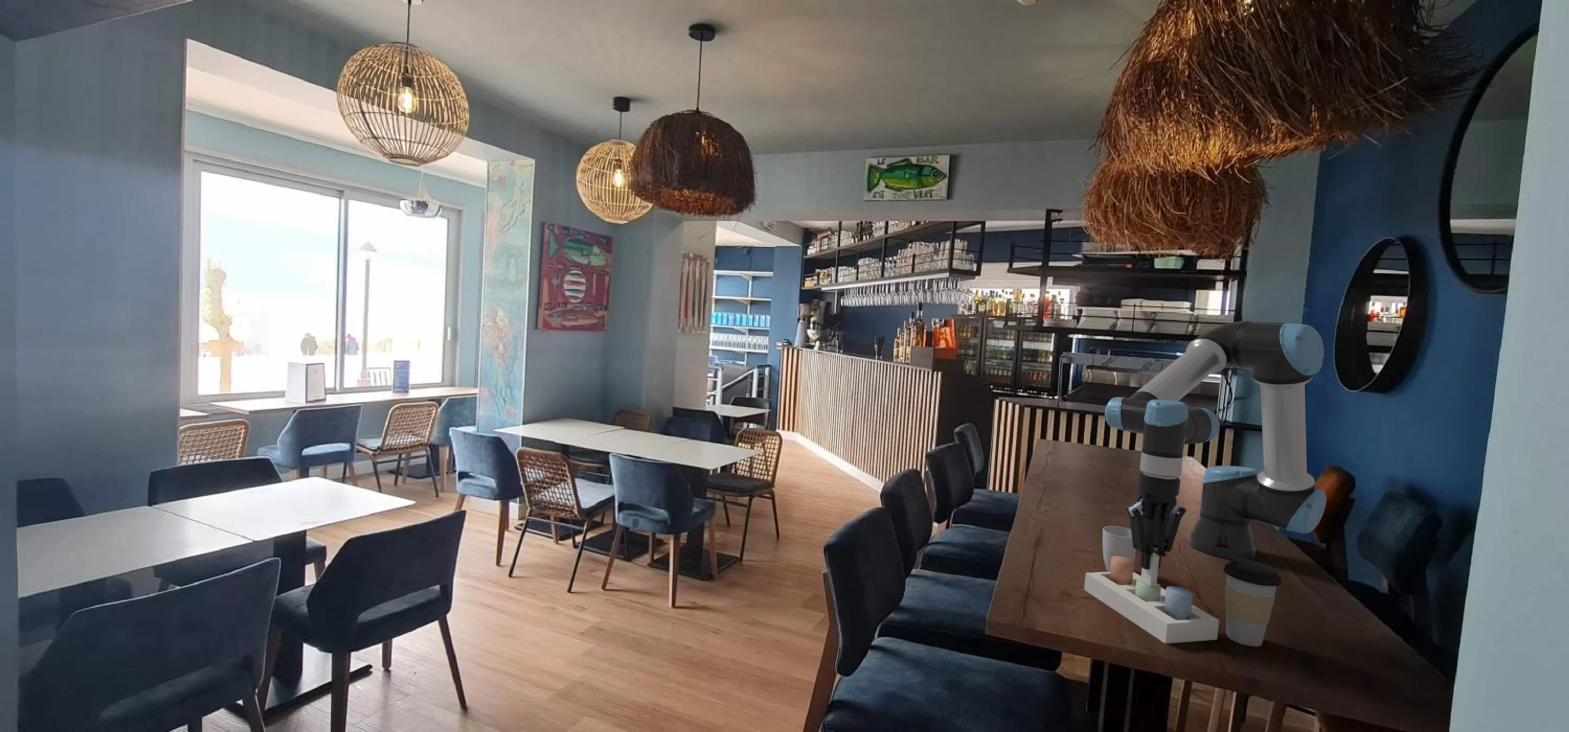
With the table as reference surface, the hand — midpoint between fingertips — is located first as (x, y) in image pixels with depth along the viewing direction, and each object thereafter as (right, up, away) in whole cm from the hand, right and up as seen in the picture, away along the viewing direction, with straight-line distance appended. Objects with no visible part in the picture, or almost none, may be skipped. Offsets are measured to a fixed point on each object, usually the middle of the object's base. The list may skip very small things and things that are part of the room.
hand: (1148, 583), depth 140 cm
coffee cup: (+14, -8, -9) cm, 19 cm away
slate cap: (+2, -4, -7) cm, 9 cm away
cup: (+5, -5, +23) cm, 24 cm away
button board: (0, -7, +1) cm, 7 cm away
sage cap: (0, -5, +1) cm, 5 cm away
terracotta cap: (-2, -2, +8) cm, 9 cm away
